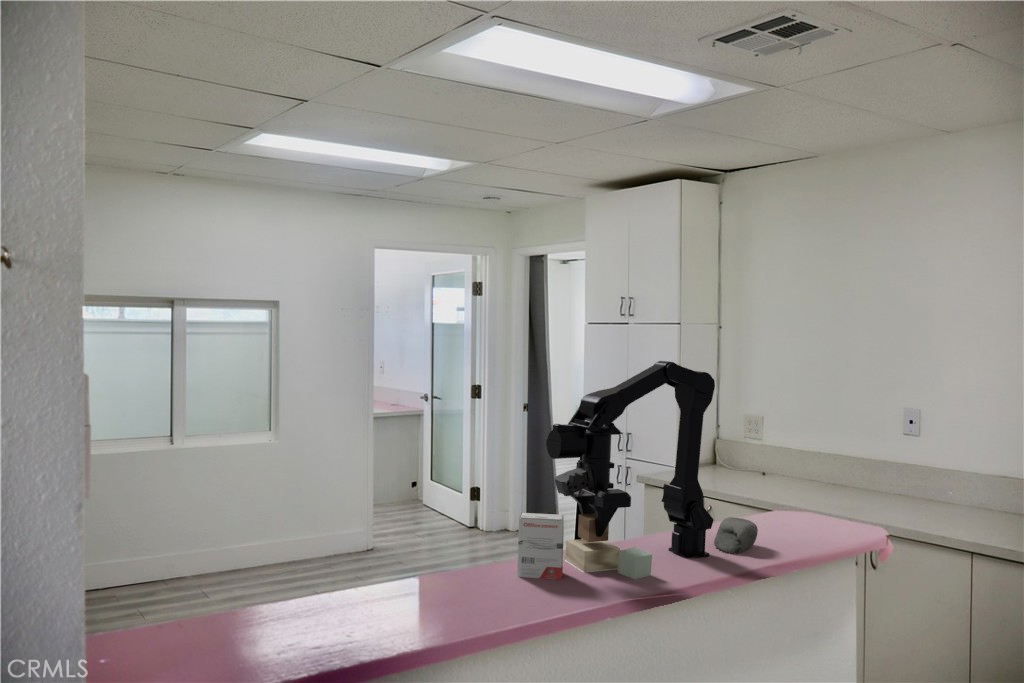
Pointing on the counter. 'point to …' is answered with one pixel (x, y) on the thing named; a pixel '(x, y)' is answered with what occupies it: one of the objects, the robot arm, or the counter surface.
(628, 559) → the sage block
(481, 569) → the counter surface
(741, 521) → the stone
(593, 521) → the walnut cube
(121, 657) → the counter surface
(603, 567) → the birch base block
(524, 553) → the ink box
